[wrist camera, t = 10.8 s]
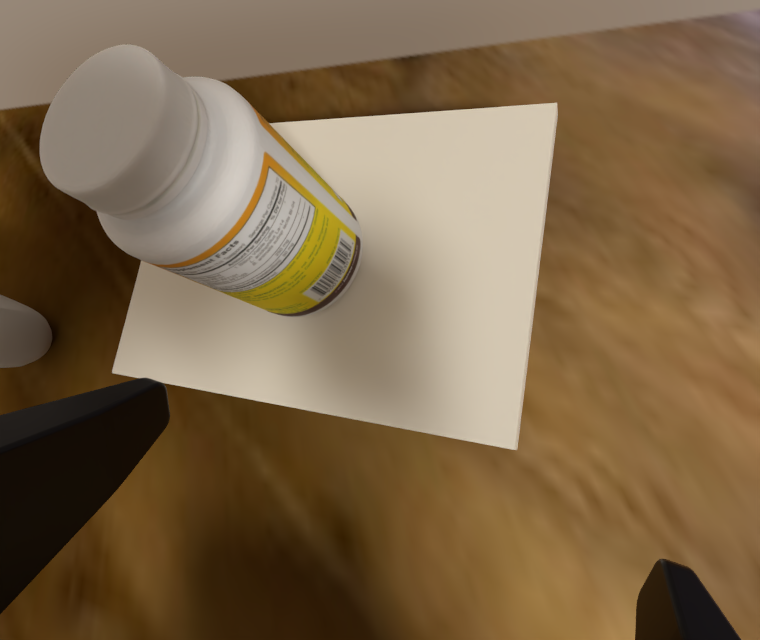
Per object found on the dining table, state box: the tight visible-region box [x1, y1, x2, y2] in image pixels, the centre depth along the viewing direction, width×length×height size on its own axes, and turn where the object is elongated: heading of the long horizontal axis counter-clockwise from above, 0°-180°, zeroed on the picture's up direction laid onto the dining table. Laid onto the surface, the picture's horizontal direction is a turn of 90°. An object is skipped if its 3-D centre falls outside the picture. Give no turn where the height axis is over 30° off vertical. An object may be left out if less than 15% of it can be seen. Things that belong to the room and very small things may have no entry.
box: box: [112, 103, 558, 450], centre depth 23 cm, size 13×19×4 cm
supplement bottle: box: [40, 44, 363, 317], centre depth 16 cm, size 6×6×10 cm
